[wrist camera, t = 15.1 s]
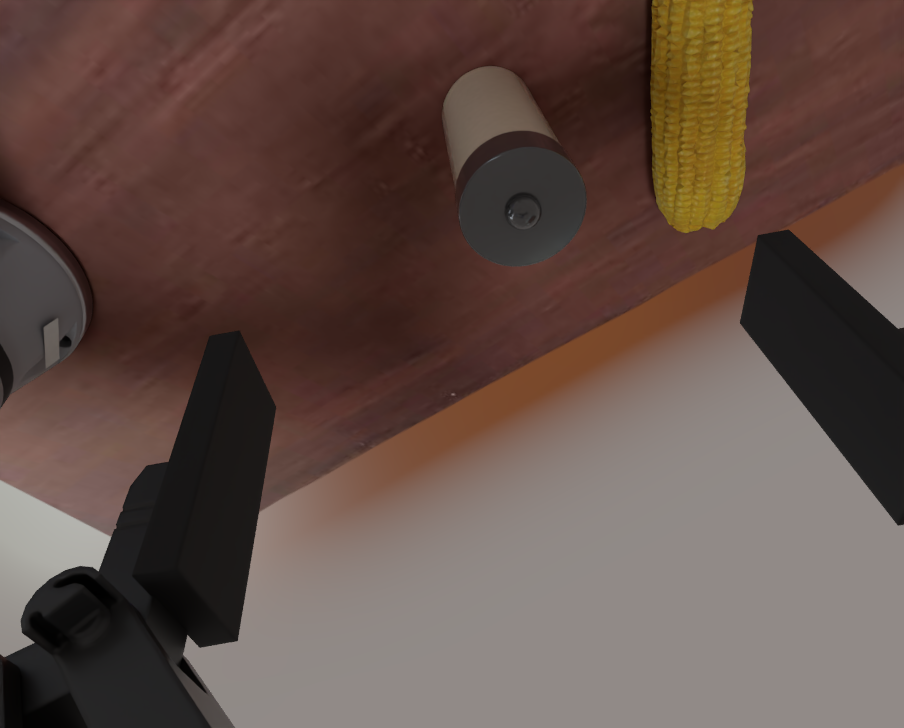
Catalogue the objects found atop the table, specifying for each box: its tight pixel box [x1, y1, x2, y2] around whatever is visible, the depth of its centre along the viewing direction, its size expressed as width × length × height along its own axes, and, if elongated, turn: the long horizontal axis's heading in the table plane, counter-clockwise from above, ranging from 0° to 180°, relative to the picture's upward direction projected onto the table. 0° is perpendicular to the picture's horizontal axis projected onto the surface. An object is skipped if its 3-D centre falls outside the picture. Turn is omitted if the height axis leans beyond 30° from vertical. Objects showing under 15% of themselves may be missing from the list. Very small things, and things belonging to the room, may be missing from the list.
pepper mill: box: [442, 66, 587, 266], centre depth 34 cm, size 6×6×15 cm
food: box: [650, 0, 753, 233], centre depth 36 cm, size 21×6×6 cm, turn 14°
